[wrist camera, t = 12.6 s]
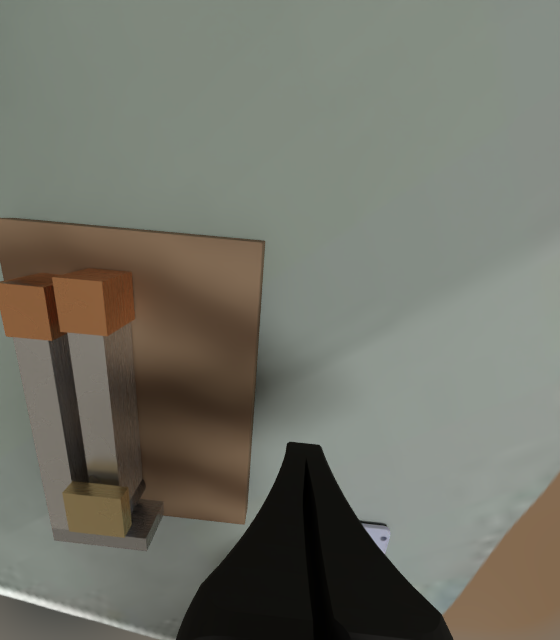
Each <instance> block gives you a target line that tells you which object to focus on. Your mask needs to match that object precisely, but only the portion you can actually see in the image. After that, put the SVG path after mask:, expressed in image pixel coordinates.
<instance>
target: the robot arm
mask: <svg viewBox="0 0 560 640" xmlns="http://www.w3.org/2000/svg"><path fill="white" fill-rule="evenodd" d="M390 535H391V533H390V529H389V528H388V527H387V526H382V525H373V524H364V523H361V522H360V521H359V519H358V518H357V516H356V515H355V513H354V512H353V510H352V508H351V507H350V505H349V503H348V502H347V500H346V498H345V497H344V495H343V493H342V491H341V489H340V487H339V485H338V484H337V482H336V480H335V478H334V476H333V474H332V472H331V470H330V467H329V465H328V463H327V461H326V458H325V456H324V453H323V450H322V447H321V446H320V445H316V444H306V443H297V442H289V443H287V447H286V453H285V457H284V460H283V463H282V466H281V468H280V471H279V473H278V476H277V478H276V480H275V483H274V485H273V487H272V489H271V491H270V493H269V495H268V497H267V498H266V500H265V502H264V504H263V506H262V507H261V509H260V511H259V512H258V514H257V515H256V517H255V519H254V520H253V522H252V523H251V525H250V526H249V528H248V529H247V530H246V532H245V533H244V535H243V536H242V537H241V539H240V540H239V541H238V543H237V544H236V545H235V546H234V548H233V549H232V550H231V551H230V553H229V554H228V555H227V556H226V558H225V559H224V560H223V561H222V562H221V563H220V565H219V566H218V567H217V568H216V569H215V570H214V571H213V572H212V573H211V574H210V575H209V576H208V578H207V579H206V580H205V581H204V582H203V583H202V584H201V585H200V587H199V589H198V591H197V593H196V595H195V596H194V598H193V600H192V602H191V604H190V606H189V608H188V610H187V612H186V614H185V617H184V619H183V621H182V624H181V626H180V629H179V632H178V635H177V638H176V640H453V637H452V635H451V633H450V631H449V629H448V627H447V625H446V623H445V621H444V618H443V616H442V614H441V613H440V612H439V611H438V610H437V609H436V608H435V607H434V606H433V605H432V604H430V603H429V602H428V601H427V600H426V599H425V598H424V597H423V596H422V595H421V594H420V593H419V592H418V591H417V590H416V589H415V588H414V587H413V586H412V585H411V584H410V583H409V582H408V581H407V580H406V578H405V577H404V576H403V575H402V574H401V573H400V572H399V571H398V570H397V568H396V567H395V566H394V565H393V564H392V562H391V561H390V560H389V559H388V558H387V556H386V555H385V553H386V549H387V546H388V542H389V538H390Z"/></svg>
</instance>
